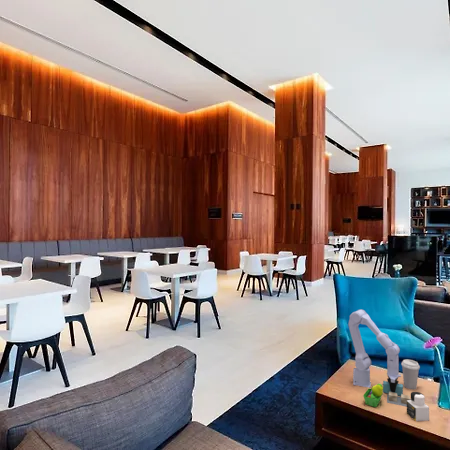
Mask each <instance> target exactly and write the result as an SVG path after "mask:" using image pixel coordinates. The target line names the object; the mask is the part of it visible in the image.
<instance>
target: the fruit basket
mask: <svg viewBox="0 0 450 450" xmlns="http://www.w3.org/2000/svg"><path fill="white" fill-rule="evenodd" d="M383 394H384V392H383V383H377V384H376V385H373V386H372V387H370V388H368V387H367V390H366V391H365V392H364V394H363V395H362V396H363V399H364V403H365V405H367V406H371V407H373V408H377V407H378V406H379V404H380V402H381V399H382V396H383Z"/></svg>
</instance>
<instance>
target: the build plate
mask: <svg viewBox="0 0 450 450" xmlns="http://www.w3.org/2000/svg"><path fill="white" fill-rule="evenodd" d="M386 394H387V395H386V403H387V404H391V405H395V406H402V407H405V408H407V404H404V403H401V396H399V395H397V402H394V401H389V393H386ZM410 400H411V398H410Z"/></svg>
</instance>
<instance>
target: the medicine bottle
mask: <svg viewBox="0 0 450 450" xmlns="http://www.w3.org/2000/svg"><path fill="white" fill-rule="evenodd" d="M425 398H426V397H425V395H424V394H423V393H421V392H419V391H411V392H410V399H411V400H407V407H406V414H407V416H409V417H410V418H411V419H413V421H415V422H423V421H424V422H427V421H430V407H429V405H427V404H426V402H425Z"/></svg>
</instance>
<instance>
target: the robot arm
mask: <svg viewBox="0 0 450 450" xmlns="http://www.w3.org/2000/svg"><path fill="white" fill-rule="evenodd" d="M360 324H361V325H365V326H367V327H368V329H370V330H371V332H372V333H373V334H374V335H375V336H376V340H377V341H378V342H379V344H380V345H381V346H382V348H384V349H385V353H386V355H387V358H386V360H387V361H386V364H387V371H386V376H387V378H386V379H387V381H388V383H389V385H390V390H391V392H395V391H396V386H397V384H399V380H398V379H399V378H401V377H402V374H399V371H400V370H399V367H400V366H399V360H400V359H399V353H400V352H401V351H400V350H401V349H400V347H399V345H398V344H396V343H395V342H393V341H392V340H391V339H390V337H389V335H388V334H387V333H384V332H382V331H381V330H380V329H379V328H378V326H377V325H376V323H375V322H374V321H373V320H372V319H371V317H370V315H369V314H368V313H367V312H366V310H364V309H357V310H356V311H353V312H352V313H351V314H350V315H349V320H348V324H347V325H348V329H349V333H350V336H351V339H352V345H353V347H354V351H355V356H354V357H355V359H354V360H355V363H354V364H355V365H354V366H355V367H353V372H352V376H353V378H352V380H353V381H352V383H353V386H359V387H364V388H367V389H368V388H370V389H371V385H372V382H371V368H370V367H371V366H372V360H371V358H370V357H369V355H368V353H366V350H365V346H364V343H363V339H362V336H361V331H360V329H359V325H360Z"/></svg>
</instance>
